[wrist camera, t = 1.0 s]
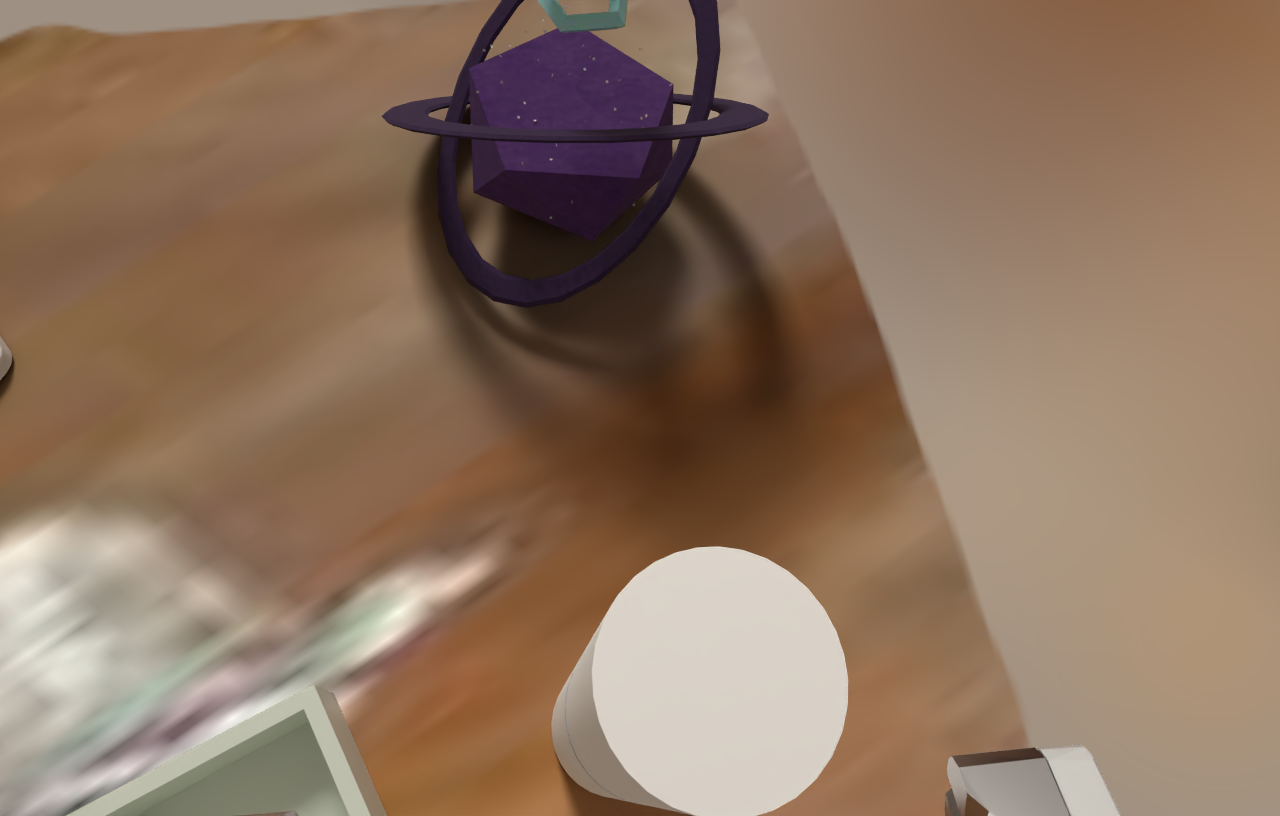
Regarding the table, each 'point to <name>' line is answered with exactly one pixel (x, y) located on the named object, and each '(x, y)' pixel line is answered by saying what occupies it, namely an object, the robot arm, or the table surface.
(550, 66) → the decorative bottle
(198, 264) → the table surface
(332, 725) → the box
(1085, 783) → the robot arm
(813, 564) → the table surface
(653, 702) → the cylindrical container
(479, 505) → the table surface
